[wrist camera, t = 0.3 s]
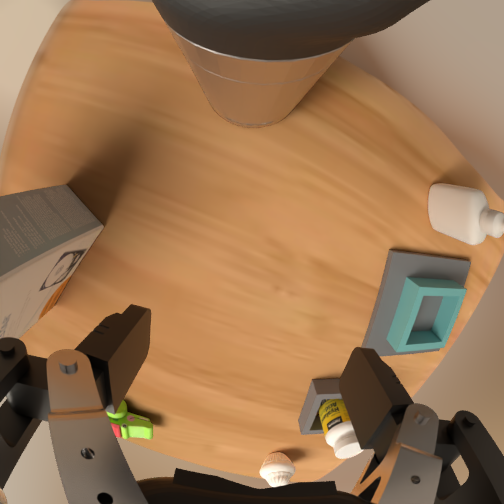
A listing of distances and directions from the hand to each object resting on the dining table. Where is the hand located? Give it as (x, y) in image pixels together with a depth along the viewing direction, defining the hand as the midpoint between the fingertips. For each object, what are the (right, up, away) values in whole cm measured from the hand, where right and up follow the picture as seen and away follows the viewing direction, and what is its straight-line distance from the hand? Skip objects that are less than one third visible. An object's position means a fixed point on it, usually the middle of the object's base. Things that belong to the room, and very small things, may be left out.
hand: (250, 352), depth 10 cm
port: (+22, -3, +21) cm, 30 cm away
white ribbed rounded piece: (+4, -32, +30) cm, 44 cm away
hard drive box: (-24, +4, +18) cm, 30 cm away
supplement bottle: (+12, -18, +25) cm, 33 cm away
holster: (+12, -18, +25) cm, 33 cm away
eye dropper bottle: (+22, +9, +18) cm, 30 cm away
